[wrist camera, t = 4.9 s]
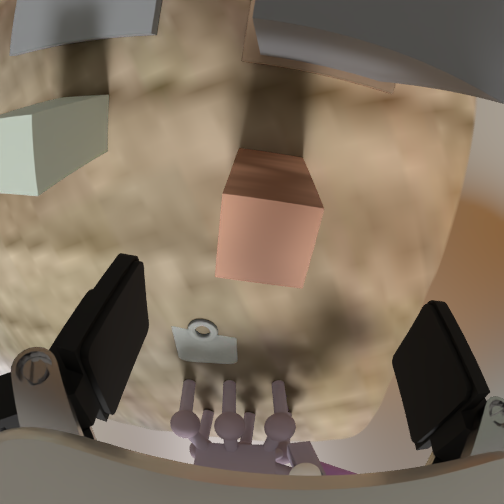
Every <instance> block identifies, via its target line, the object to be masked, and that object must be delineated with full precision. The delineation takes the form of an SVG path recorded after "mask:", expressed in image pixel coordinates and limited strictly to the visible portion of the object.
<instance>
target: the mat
mask: <svg viewBox="0 0 504 504" xmlns="http://www.w3.org/2000/svg"><path fill="white" fill-rule="evenodd" d="M161 4H162V0H17V5H16V10H15V16H14V22H13V29H12V37H11V45H10V56H15V55H20V54H24V53H28V52H32V51H36V50H41V49H45V48H50V47H54V46H60V45H65V44H71V43H77V42H83V41H90V40H98V39H106V38H116V37H129V36H146V35H157V29H158V23H159V16H160V10H161Z"/></svg>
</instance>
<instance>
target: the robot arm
mask: <svg viewBox="0 0 504 504" xmlns="http://www.w3.org/2000/svg"><path fill="white" fill-rule="evenodd" d="M148 328H149V320H148V311H147V301H146V290H145V277H144V265H143V262H140V261H139V259H138V257H137V256H133V255H128V254H122V253H121V254H119V255H118V256H117V257H116V259H115V260H114V261H113V263H112V264H111V265H110V267H109V268H108V269H107V271H106V272H105V273H104V275H103V276H102V278H101V279H100V280H99V282H98V283H97V285H96V286H95V287H94V289H91V290H89V291H88V292H87V293H86V295H85V296H84V298H83V299H82V301H81V302H80V303H79V305H78V306H77V308H76V309H75V311H74V312H73V314H72V315H71V317H70V318H69V320H68V321H67V323H66V324H65V326H64V327H63V329H62V330H61V332H60V333H59V335H58V336H57V338H56V340H55V341H54V343H53V344H52V346H51V348H50V349H49V350H47V349H45V348H42V347H32V348H28V349H26V350H24V351H22V352H21V353H20V354H18V355H17V357H16V358H15V359H14V361H13V364H12V366H11V372H10V373H7V374H4V375H1V376H0V504H504V399H503V398H500V397H497V396H493V397H490V398H489V399H488V400H487V401H486V399H485V397H486V396H487V395H488V394H489V393H490V390H489V388H488V386H487V384H486V381H485V379H484V377H483V375H482V372H481V370H480V368H479V366H478V364H477V361H476V359H475V357H474V355H473V353H472V351H471V349H470V347H469V345H468V343H467V341H466V339H465V337H464V335H463V333H462V331H461V329H460V327H459V325H458V324H457V322H456V320H455V318H454V316H453V314H452V313H451V311H450V309H449V307H448V305H447V304H446V303H445V302H442V301H434V300H431V301H429V302H428V303H427V304H425V305H424V306H423V307H422V309H421V311H420V313H419V315H418V316H417V318H416V320H415V321H414V323H413V325H412V327H411V328H410V330H409V332H408V333H407V335H406V337H405V338H404V340H403V341H402V343H401V345H400V346H399V348H398V349H397V351H396V352H395V354H394V356H393V359H392V365H393V368H394V372H395V375H396V379H397V382H398V386H399V390H400V394H401V397H402V401H403V406H404V409H405V414H406V418H407V422H408V426H409V430H410V436H411V439H412V441H413V442H414V443H415V446H416V450H420V449H428V448H429V447H431V446H432V450H433V451H432V453H431V455H430V457H429V459H428V461H427V463H426V465H425V466H421V467H416V468H409V469H402V470H395V471H387V472H377V473H366V474H352V475H327V476H300V475H275V474H261V473H250V472H240V471H231V470H224V469H217V468H210V467H204V466H198V465H193V464H188V463H182V462H177V461H173V460H168V459H164V458H159V457H155V456H151V455H147V454H143V453H139V452H135V451H131V450H128V449H124V448H121V447H118V446H114V445H111V444H107V443H104V442H100V441H97V439H96V437H95V435H94V432H93V430H92V427H91V426H92V425H93V424H94V422H95V419H96V418H97V419H100V420H103V421H107V419H108V417H109V414H111V415H113V414H114V413H115V412H116V410H117V407H118V404H119V402H120V399H121V396H122V394H123V391H124V389H125V386H126V384H127V381H128V379H129V376H130V374H131V371H132V369H133V366H134V364H135V361H136V359H137V356H138V354H139V352H140V349H141V347H142V344H143V342H144V340H145V337H146V335H147V332H148Z"/></svg>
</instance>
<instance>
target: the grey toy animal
mask: <svg viewBox="0 0 504 504" xmlns="http://www.w3.org/2000/svg"><path fill="white" fill-rule="evenodd" d="M195 384H196V383H195V382H194V381H193V380H190V379H187V380H185V381H184V383H183V389H182V396H181V403H180V410H179V411H178V412H176V413H175V414H174V415H173V416H172V418H171V422H170V424H171V428H172V430H173V432H174V433H175V434H176V435H178V436H179V437H182V438H189V440H190V441H191V442H192V443H191V445H190V453H191V455H192V457H193V458H195V461H194V465H198V466H204V467H210V468H217V469H224V470H231V471H240V472H250V473H261V474H275V475H300V476H327V475H352V474H356V473H353V472H350V471H347V470H344V469H341V468H338V467H335V466H332V465H329V464H326V463H323V462H320V461H319V459H318V457H317V455H316V453H315V451H314V449H313V447H312V445H311V443H310V441H307V442H298V443H290V438H291V437H292V436H293V434H294V432H295V429H296V425H295V421H294V419H293V418H292V414H291V413H289V412H288V410H289V409H288V408H287V401H286V393H285V385H284V382H283V381H281V380H277V381H274V382H273V383H272V393H273V404H274V414H273V415H271V416H270V417H269V418H268V419H267V420H266V422H265V426H264V429H265V433H266V435H267V439H266V441H265V443H264V445H252V444H251V443H252V436H253V429H254V421H255V414H254V413H250V412H246V413H245V414H244V419H243V418H242V417H241V416H240V415H239V414H237V413H236V383H235V382H234V381H232V380H227V381H225V382H224V383H223V404H222V414H221V415H219V416H218V418H217V419H216V421H215V424H214V427H215V431H216V433H217V435H218V436H219V437H220V438H222V439H224V444H220V443H212V442H211V441H209V440H208V439H209V434H210V429H211V425H212V420H213V415H214V413H213V412H212V411H209V410H204V411H203V415H202V419H201V424H200V420H199V418H198V417H197V415H196V414H195V413H193V412H192V411H193V402H194V393H195ZM289 411H290V410H289ZM240 437H241V439H240V442H237V439H238V438H240ZM289 462H290V463H291V466H292V467H289V466H286V465H284V464H287V463H289Z"/></svg>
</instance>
